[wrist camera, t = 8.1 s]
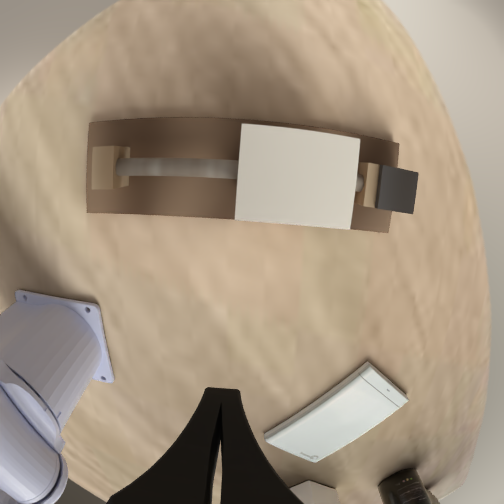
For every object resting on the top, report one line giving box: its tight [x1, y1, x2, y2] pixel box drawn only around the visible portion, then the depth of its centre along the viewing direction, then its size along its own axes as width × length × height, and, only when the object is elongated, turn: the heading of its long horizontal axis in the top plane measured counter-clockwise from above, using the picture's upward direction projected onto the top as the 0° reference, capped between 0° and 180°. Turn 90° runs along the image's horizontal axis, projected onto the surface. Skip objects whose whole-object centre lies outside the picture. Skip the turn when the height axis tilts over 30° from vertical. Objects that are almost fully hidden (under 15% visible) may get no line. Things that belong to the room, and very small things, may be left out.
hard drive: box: [264, 361, 409, 462], centre depth 24 cm, size 2×8×12 cm
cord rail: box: [86, 117, 418, 233], centre depth 16 cm, size 20×6×4 cm, turn 86°
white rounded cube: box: [235, 124, 360, 230], centre depth 14 cm, size 5×4×5 cm
